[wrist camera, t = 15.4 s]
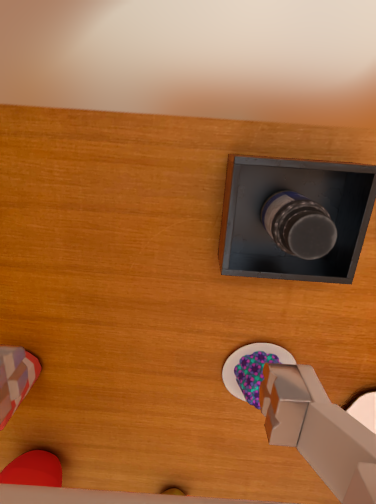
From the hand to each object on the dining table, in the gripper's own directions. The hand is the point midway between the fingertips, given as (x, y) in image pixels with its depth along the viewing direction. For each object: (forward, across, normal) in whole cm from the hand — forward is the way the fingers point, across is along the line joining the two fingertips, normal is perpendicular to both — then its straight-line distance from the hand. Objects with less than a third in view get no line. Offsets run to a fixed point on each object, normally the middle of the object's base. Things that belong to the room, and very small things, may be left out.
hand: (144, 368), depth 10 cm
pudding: (+31, -14, +27) cm, 44 cm away
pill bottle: (+31, -13, +1) cm, 34 cm away
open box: (+32, -13, +1) cm, 34 cm away
